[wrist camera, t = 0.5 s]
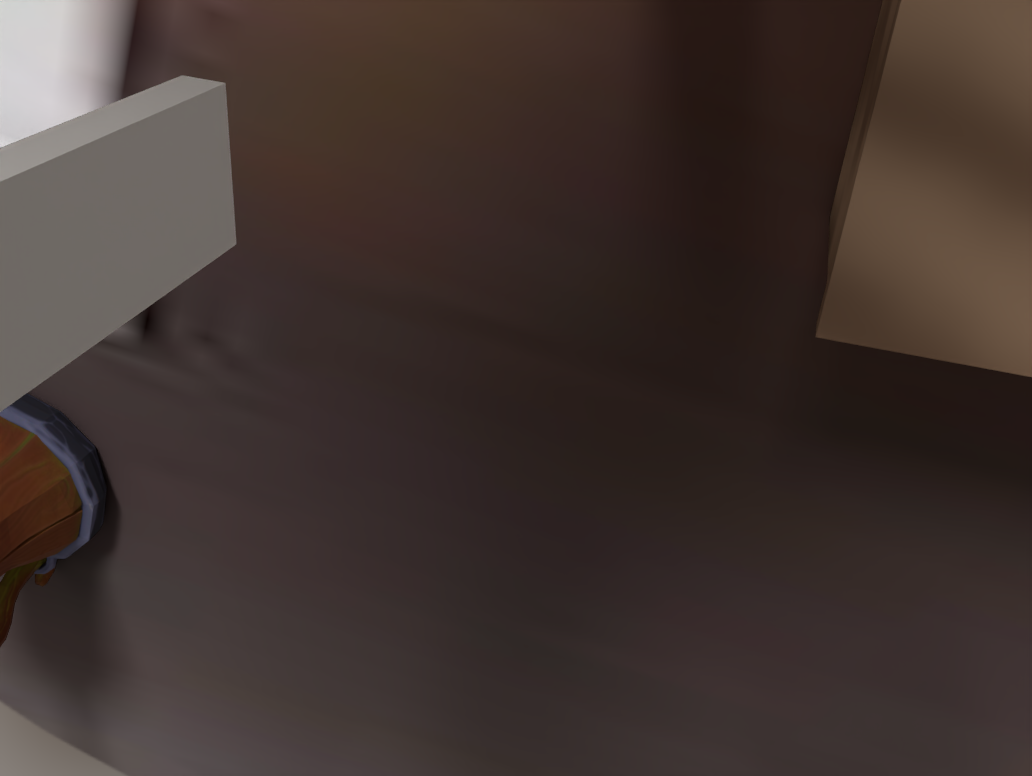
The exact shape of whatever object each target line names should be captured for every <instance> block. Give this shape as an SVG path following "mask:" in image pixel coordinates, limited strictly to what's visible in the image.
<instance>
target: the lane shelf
mask: <svg viewBox="0 0 1032 776" xmlns="http://www.w3.org/2000/svg"><path fill="white" fill-rule="evenodd" d="M816 337H817V338H823V339H828V340H833V341H839V342H844V343H850V344H855V345H860V346H866V347H871V348H877V349H882V350H888V351H893V352H898V353H904V354H909V355H915V356H920V357H925V358H931V359H936V360H942V361H947V362H953V363H958V364H963V365H969V366H974V367H980V368H985V369H990V370H996V371H1001V372H1007V373H1012V374H1017V375H1023V376H1028V377H1032V0H883V2H882V6H881V10H880V14H879V18H878V22H877V26H876V30H875V34H874V38H873V42H872V46H871V51H870V55H869V59H868V63H867V67H866V71H865V75H864V79H863V83H862V87H861V91H860V95H859V99H858V104H857V108H856V112H855V116H854V120H853V124H852V128H851V132H850V136H849V140H848V144H847V148H846V152H845V157H844V161H843V165H842V169H841V173H840V177H839V181H838V185H837V189H836V193H835V197H834V201H833V205H832V210H831V214H830V222H829V249H828V276H827V284H826V287H825V291H824V295H823V299H822V303H821V307H820V311H819V315H818V319H817V323H816Z"/></svg>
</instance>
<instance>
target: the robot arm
mask: <svg viewBox="0 0 1032 776" xmlns="http://www.w3.org/2000/svg"><path fill="white" fill-rule="evenodd" d="M234 245H236V232H235V217H234V202H233V187H232V173H231V158H230V143H229V129H228V114H227V99H226V85H225V83H222V82H217V81H211V80H205V79H199V78H194V77H188V76H180V77H177V78H175V79H172V80H170V81H167V82H165V83H162V84H160V85H157V86H154V87H152V88H149V89H147V90H144V91H142V92H139V93H137V94H134V95H132V96H129V97H127V98H124V99H122V100H119V101H117V102H114V103H112V104H109V105H107V106H104V107H102V108H99V109H97V110H94V111H92V112H89V113H87V114H84V115H82V116H79V117H77V118H74V119H72V120H69V121H67V122H64V123H62V124H59V125H57V126H54V127H52V128H49V129H47V130H44V131H42V132H39V133H37V134H34V135H32V136H29V137H27V138H24V139H22V140H19V141H16V142H14V143H11V144H9V145H6V146H4V147H1V148H0V412H1V411H2V410H4V409H5V408H7V407H8V406H9V405H11V404H12V403H14V402H15V401H16V400H18V399H19V398H21V397H22V396H23V395H25V394H26V393H28V392H29V391H31V390H32V389H33V388H35V387H36V386H38V385H39V384H40V383H42V382H43V381H45V380H46V379H47V378H49V377H50V376H52V375H53V374H54V373H56V372H57V371H59V370H60V369H61V368H63V367H64V366H66V365H67V364H69V363H70V362H71V361H73V360H74V359H76V358H77V357H78V356H80V355H81V354H83V353H84V352H85V351H87V350H88V349H90V348H91V347H92V346H94V345H95V344H97V343H98V342H99V341H101V340H102V339H104V338H105V337H106V336H108V335H109V334H111V333H112V332H114V331H115V330H116V329H118V328H119V327H121V326H122V325H123V324H125V323H126V322H128V321H129V320H130V319H132V318H133V317H135V316H136V315H137V314H139V313H140V312H142V311H143V310H144V309H146V308H147V307H149V306H150V305H152V304H153V303H154V302H156V301H157V300H159V299H160V298H161V297H163V296H164V295H166V294H167V293H168V292H170V291H171V290H173V289H174V288H175V287H177V286H178V285H180V284H181V283H182V282H184V281H185V280H187V279H188V278H189V277H191V276H192V275H194V274H195V273H197V272H198V271H199V270H201V269H202V268H204V267H205V266H206V265H208V264H209V263H211V262H212V261H213V260H215V259H216V258H218V257H219V256H220V255H222V254H223V253H225V252H226V251H227V250H229V249H230V248H232V247H233V246H234Z"/></svg>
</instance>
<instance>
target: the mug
mask: <svg viewBox="0 0 1032 776" xmlns="http://www.w3.org/2000/svg"><path fill="white" fill-rule="evenodd" d="M106 490H107V488H106V484H105V480H104V476H103V473H102V469H101V466H100V462H99V459H98V455H97V451H96V448H95V446H94V445H93V444H92V443H91V442H90V441H89V440H88V439H87V438H86V437H85V436H84V435H83V434H82V433H81V432H80V431H79V430H78V429H77V428H76V427H75V426H74V425H73V424H72V423H71V421H70V420H69V419H68V418H67V417H66V416H65V415H64V414H63V413H62V412H60V411H59V410H57V409H55V408H53V407H51V406H49V405H48V404H46V403H44V402H42V401H40V400H38V399H37V398H35V397H33V396H31V395H29V394H27V393H26V394H25V395H23V396H22V397H21V398H19V399H18V400H16V401H15V402H14V403H12V404H11V405H9V406H8V407H7V408H5V409H4V410H2V411H1V412H0V576H1V575H3V574H4V573H6V574H5V575H4V577H3V579H2V581H1V582H0V647H1V645H2V644H3V643H4V641H5V640H6V638H7V635H8V632H9V629H10V626H11V623H12V617H13V611H14V605H15V602H16V600H17V597H18V595H19V592H20V590H21V589H22V588H23V586H24V585H25V583H26V582H27V581H28V580H29V578H30V577H31V576H32V575H33V573H34V574H35V583H36V584H37V585H40V586H44V585H46V584H47V582H48V580H49V579H50V577H51V575H52V574H53V572H54V570H55V568H56V561H57V559H65V558H67V557H69V556H70V555H72V554H73V553H74V552H75V551H77V550H78V549H79V548H80V547H82V546H83V545H84V544H85V543H86V542H88V541H89V540H90V539H91V538H92V537H93V536H94V535H95V534H96V533H97V532H98V531H99V530H100V528H101V526H102V524H103V522H104V512H105V501H106Z"/></svg>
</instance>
